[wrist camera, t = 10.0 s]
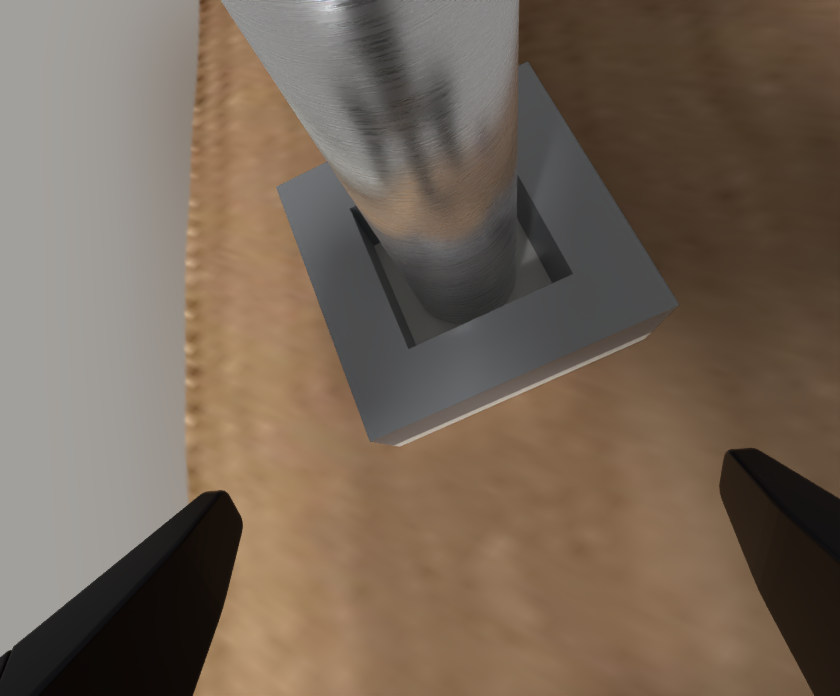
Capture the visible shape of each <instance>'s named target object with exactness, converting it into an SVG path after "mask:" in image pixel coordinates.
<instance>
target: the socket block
mask: <svg viewBox="0 0 840 696" xmlns="http://www.w3.org/2000/svg"><path fill="white" fill-rule="evenodd" d="M276 188H277V191H278V193H279V196H280V199H281V201H282V204H283V207H284V210H285V212H286V215H287V218H288V220H289V223H290V226H291V229H292V231H293V234H294V237H295V239H296V242H297V245H298V248H299V250H300V253H301V256H302V258H303V261H304V264H305V267H306V269H307V272H308V275H309V277H310V280H311V283H312V286H313V288H314V291H315V294H316V296H317V299H318V302H319V305H320V307H321V310H322V313H323V315H324V318H325V321H326V324H327V326H328V329H329V332H330V334H331V337H332V340H333V343H334V345H335V348H336V351H337V353H338V356H339V359H340V362H341V364H342V367H343V370H344V372H345V375H346V378H347V381H348V383H349V386H350V389H351V391H352V394H353V397H354V400H355V402H356V405H357V408H358V410H359V413H360V416H361V419H362V421H363V424H364V427H365V429H366V432H367V435H368V438H369V440H370V442H374V443H381V444H387V445H394V446H402V445H405V444H407V443H409V442H412V441H414V440H416V439H418V438H421V437H423V436H425V435H428V434H430V433H432V432H434V431H437V430H439V429H441V428H443V427H446V426H448V425H450V424H453V423H455V422H457V421H459V420H462V419H464V418H466V417H468V416H471V415H473V414H475V413H478V412H480V411H482V410H484V409H487V408H489V407H491V406H494V405H496V404H498V403H500V402H503V401H505V400H507V399H509V398H512V397H514V396H516V395H519V394H521V393H523V392H525V391H528V390H530V389H532V388H535V387H537V386H539V385H541V384H544V383H546V382H548V381H550V380H553V379H555V378H557V377H560V376H562V375H564V374H566V373H569V372H571V371H573V370H575V369H578V368H580V367H582V366H585V365H587V364H589V363H591V362H594V361H596V360H598V359H601V358H603V357H605V356H607V355H610V354H612V353H614V352H616V351H619V350H621V349H623V348H626V347H628V346H630V345H632V344H635V343H637V342H639V341H642V340H644V339H645V338H646V337H647V336H648V335H649V334H650V333H651V332H652V331H653V330H654V329H655V328H656V327H657V326H658V325H659V324H660V323H661V322H663V321H664V320H665V319H666V318H667V317H668V316H669V315H670V314H671V313H672V312H673V311H674V310H675V309H676V308H677V307H678V306H679V303H678V302H677V300H676V298H675V297H674V295H673V294H672V292H671V290H670V289H669V287H668V286H667V284H666V282H665V281H664V279H663V278H662V276H661V274H660V273H659V271H658V270H657V268H656V266H655V265H654V263H653V261H652V260H651V258H650V257H649V255H648V253H647V252H646V250H645V249H644V247H643V245H642V244H641V242H640V241H639V239H638V237H637V236H636V234H635V233H634V231H633V229H632V228H631V226H630V225H629V223H628V221H627V220H626V218H625V217H624V215H623V213H622V212H621V210H620V209H619V207H618V205H617V204H616V202H615V201H614V199H613V197H612V196H611V194H610V192H609V191H608V189H607V188H606V186H605V184H604V183H603V181H602V180H601V178H600V176H599V175H598V173H597V172H596V170H595V168H594V167H593V165H592V164H591V162H590V160H589V159H588V157H587V156H586V154H585V152H584V151H583V149H582V148H581V146H580V144H579V143H578V141H577V140H576V138H575V136H574V135H573V133H572V132H571V130H570V128H569V127H568V125H567V123H566V122H565V120H564V119H563V117H562V115H561V114H560V112H559V111H558V109H557V107H556V106H555V104H554V103H553V101H552V99H551V98H550V96H549V95H548V93H547V91H546V90H545V88H544V87H543V85H542V83H541V82H540V80H539V79H538V77H537V75H536V74H535V72H534V71H533V69H532V67H531V66H530V64H529V62H528V61H527V62H525V63H523V64H521V65H519V66H518V159H517V260H516V282H515V286H514V289H513V291H512V294H511V296H510V297H509V299H508V301H507V302H506V303H505V305H504V306H502V307H500V308H497V309H495V310H493V311H491V312H489V313H487V314H484V315H482V316H480V317H478V318H476V319H473V320H471V321H469V322H467V323H465V324H462V325H461V324H452V323H448V322H445V321H442V320H440V319H438V318H436V317H434V316H433V315H431V314H430V313H429V312H428V311H427V310H426V309H425V308H424V307H423V306H422V304H421V303H420V301H419V300H418V298H417V297H416V295H415V294H414V292H413V291H412V289H411V288H410V286H409V285H408V283H407V282H406V280H405V279H404V277H403V276H402V274H401V273H400V271H399V270H398V268H397V267H396V265H395V263H394V262H393V260H392V259H391V257H390V256H389V254H388V253H387V251H386V250H385V248H384V247H383V245H382V244H381V242H380V241H379V239H378V238H377V236H376V235H375V233H374V232H373V230H372V229H371V227H370V226H369V224H368V223H367V221H366V220H365V218H364V217H363V215H362V213H361V212H360V210H359V209H358V207H357V206H356V204H355V203H354V201H353V200H352V198H351V197H350V195H349V194H348V192H347V191H346V189H345V188H344V186H343V185H342V183H341V182H340V180H339V179H338V177H337V176H336V174H335V173H334V171H333V170H332V168H331V167H330V165H329V163H328V162H325V163H323V164H321V165H319V166H317V167H315V168H313V169H311V170H309V171H307V172H305V173H303V174H301V175H299V176H297V177H295V178H293V179H291V180H289V181H287V182H285V183H283V184H281V185H279V186H277V187H276Z"/></svg>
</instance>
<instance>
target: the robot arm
mask: <svg viewBox="0 0 840 696" xmlns="http://www.w3.org/2000/svg"><path fill="white" fill-rule="evenodd" d="M719 487H720V495H721V498H722V501H723V504H724V506H725V509H726V511H727V514H728V516H729V519H730V521H731V524H732V526H733V529H734V531H735V534H736V536H737V539H738V541H739V544H740V546H741V548H742V551H743V553H744V556H745V558H746V561H747V563H748V566H749V568H750V571H751V573H752V576H753V578H754V580H755V583H756V585H757V587H758V590H759V592H760V594H761V596H762V598H763V600H764V602H765V604H766V606H767V608H768V609H769V611H770V613H771V615H772V617H773V619H774V621H775V623H776V624H777V626H778V628H779V630H780V632H781V634H782V636H783V638H784V639H785V641H786V643H787V645H788V647H789V649H790V651H791V653H792V655H793V656H794V658H795V660H796V662H797V664H798V666H799V668H800V670H801V671H802V673H803V675H804V677H805V679H806V681H807V683H808V685H809V686H810V688H811V690H812V692H813V694H814V696H840V499H839V498H838V497H836V496H834V495H833V494H831V493H829V492H828V491H826V490H824V489H823V488H821V487H819V486H818V485H816V484H814V483H813V482H811V481H809V480H808V479H806V478H804V477H803V476H801V475H800V474H798V473H796V472H795V471H793V470H791V469H790V468H788V467H786V466H785V465H783V464H781V463H780V462H778V461H776V460H775V459H773V458H771V457H770V456H768V455H766V454H765V453H763V452H761V451H760V450H758V449H755V448H743V449H731V450H728V451H727V452H726V453H725V455H724V460H723V466H722V472H721V478H720V485H719ZM242 529H243V522H242V518H241V516H240V514H239V512H238V510H237V508H236V506H235V505H234V503H233V501H232V499H231V497H230V496H229V494H228V493H227V492H226V491H223V490H219V491H207V492H204V493H202V494H201V495H199V496H198V497H197V498H196V499H194V500H193V501H192V502H191V503H190V504H188V505H187V506H186V507H185V508H183V509H182V510H181V511H180V512H179V513H177V514H176V515H175V516H174V517H172V518H171V519H170V520H169V521H168V522H166V523H165V524H164V525H163V526H161V527H160V528H159V529H158V530H156V531H155V532H154V533H153V534H152V535H150V536H149V537H148V538H146V539H145V540H144V541H143V542H142V543H141V544H139V545H138V546H137V547H135V548H134V549H133V550H132V551H130V552H129V553H128V554H127V555H126V556H124V557H123V558H122V559H121V560H119V561H118V562H117V563H116V564H114V565H113V566H112V567H111V568H110V569H108V570H107V571H106V572H105V573H103V574H102V575H101V576H100V577H98V578H97V579H96V580H95V581H94V582H92V583H91V584H90V585H89V586H87V587H86V588H85V589H84V590H82V591H81V592H80V593H79V594H78V595H76V596H75V597H74V598H73V599H71V600H70V601H69V602H68V603H66V604H65V605H64V606H63V607H62V608H61V609H59V610H58V611H57V612H55V613H54V614H53V615H52V616H50V617H49V618H48V619H47V620H46V621H44V622H43V623H42V624H41V625H39V626H38V627H37V628H36V629H35V630H33V631H32V632H31V633H29V634H28V635H27V636H26V637H25V638H23V639H22V640H21V641H20V642H18V643H17V644H16V645H15V646H14V647H13V649H12V650H10V651H7V652H6V653H5V654H3V655H2V656H1V657H0V696H193V694H194V691H195V688H196V685H197V682H198V679H199V676H200V674H201V671H202V668H203V665H204V662H205V659H206V656H207V654H208V651H209V648H210V645H211V642H212V639H213V636H214V633H215V631H216V628H217V625H218V622H219V619H220V616H221V613H222V610H223V606H224V603H225V599H226V595H227V591H228V587H229V583H230V579H231V575H232V571H233V567H234V563H235V559H236V555H237V551H238V546H239V542H240V538H241V534H242Z"/></svg>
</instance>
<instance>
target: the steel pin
mask: <svg viewBox="0 0 840 696" xmlns="http://www.w3.org/2000/svg"><path fill="white" fill-rule="evenodd" d="M221 1H222V3H223V4H224V6H225V7H226V9H227V10H228V12H229V13H230V15H231V17H232V18H233V20H234V21H235V23H236V24H237V26H238V27H239V29H240V30H241V32H242V33H243V35H244V36H245V38H246V39H247V41H248V42H249V44H250V45H251V47H252V48H253V50H254V51H255V53H256V54H257V56H258V57H259V59H260V60H261V62H262V63H263V65H264V67H265V68H266V70H267V71H268V73H269V74H270V76H271V77H272V79H273V80H274V82H275V83H276V85H277V86H278V88H279V89H280V91H281V92H282V94H283V95H284V97H285V98H286V100H287V101H288V103H289V104H290V106H291V107H292V109H293V110H294V112H295V113H296V115H297V117H298V118H299V120H300V121H301V123H302V124H303V126H304V127H305V129H306V130H307V132H308V133H309V135H310V136H311V138H312V139H313V141H314V142H315V144H316V145H317V147H318V148H319V150H320V151H321V153H322V154H323V156H324V157H325V159H326V160H327V162H328V163H329V165H330V167H331V168H332V170H333V171H334V173H335V174H336V176H337V177H338V179H339V180H340V182H341V183H342V185H343V186H344V188H345V189H346V191H347V192H348V194H349V195H350V197H351V198H352V200H353V201H354V203H355V204H356V206H357V207H358V209H359V210H360V212H361V213H362V215H363V217H364V218H365V220H366V221H367V223H368V224H369V226H370V227H371V229H372V230H373V232H374V233H375V235H376V236H377V238H378V239H379V241H380V242H381V244H382V245H383V247H384V248H385V250H386V251H387V253H388V254H389V256H390V257H391V259H392V260H393V262H394V263H395V265H396V267H397V268H398V270H399V271H400V273H401V274H402V276H403V277H404V279H405V280H406V282H407V283H408V285H409V286H410V288H411V289H412V291H413V292H414V294H415V295H416V297H417V298H418V300H419V301H420V303H421V304H422V306H423V307H424V308H425V309H426V310H427V311H428V312H429V313H430V314H431V315H433V316H434V317H436V318H438V319H440V320H442V321H445V322H448V323H452V324H461V325H462V324H465V323H467V322H469V321H471V320H473V319H476V318H478V317H480V316H482V315H484V314H487V313H489V312H491V311H493V310H495V309H497V308H500V307H502V306H504V305H505V303H506V302H507V301H508V299H509V297H510V296H511V294H512V291H513V289H514V286H515V282H516V260H517V159H518V57H519V0H221Z"/></svg>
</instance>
